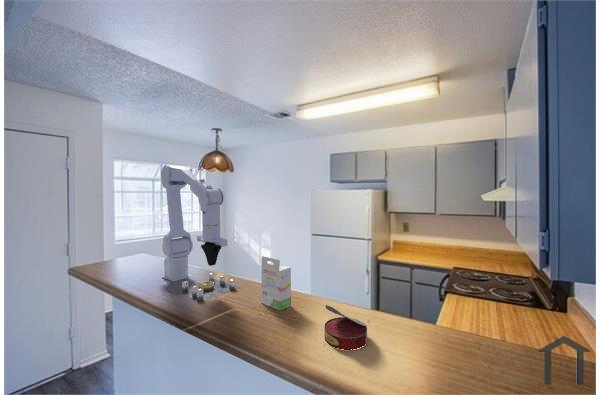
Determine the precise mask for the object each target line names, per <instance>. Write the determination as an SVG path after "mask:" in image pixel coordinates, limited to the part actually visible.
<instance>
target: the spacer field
mask: <svg viewBox="0 0 600 395" xmlns="http://www.w3.org/2000/svg"><path fill="white" fill-rule="evenodd" d="M208 281H213V282H214V289H212V290H210V291H203V289H202V288H200V289H199V283H197V284H194V285H191V286H189V280H183V281H182V282H181V288H180V289H177V290H174V292H175V293H177V294H180V295H182V296H184V297H186V298H189V299H191V300H194V301H196V302H198V303H201V302H204V301H207V300H210V299H212V298H215V297H218V296H222V295H224V294H227V293H229V292H232V291H235V290H238V289H241V287H240V286H237V285H236V280H235V279H234V278H231V279H229V280H228V282H226V275H220V276H219V280H218V279H216V278H215V273H214V272H209V273H208Z"/></svg>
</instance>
